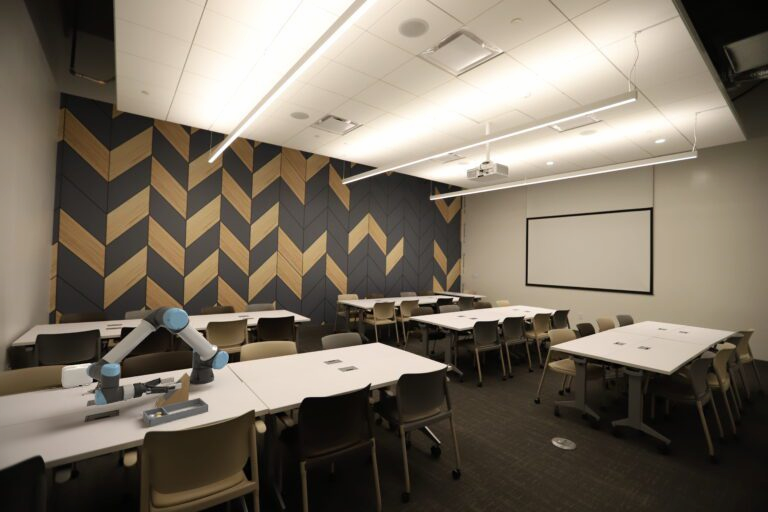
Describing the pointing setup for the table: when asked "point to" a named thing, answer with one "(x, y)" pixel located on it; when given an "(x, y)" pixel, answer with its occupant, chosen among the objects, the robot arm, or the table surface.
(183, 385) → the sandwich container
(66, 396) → the table surface
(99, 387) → the eiffel tower figurine
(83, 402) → the table surface
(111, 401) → the robot arm
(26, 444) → the table surface
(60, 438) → the table surface
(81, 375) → the cable organizer
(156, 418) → the parts tub
